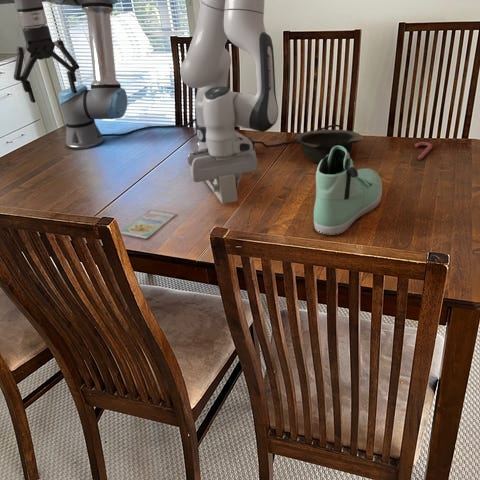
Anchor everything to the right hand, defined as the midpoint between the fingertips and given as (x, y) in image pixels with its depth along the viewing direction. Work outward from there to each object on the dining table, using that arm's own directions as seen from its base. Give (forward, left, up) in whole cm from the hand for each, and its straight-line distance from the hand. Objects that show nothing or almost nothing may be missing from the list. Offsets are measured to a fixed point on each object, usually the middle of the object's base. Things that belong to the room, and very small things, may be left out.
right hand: (225, 188), depth 146 cm
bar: (-3, -7, -4) cm, 9 cm away
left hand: (+28, -52, +25) cm, 65 cm away
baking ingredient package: (+25, -4, -4) cm, 26 cm away
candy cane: (-72, +20, -4) cm, 75 cm away
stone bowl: (-48, -3, -4) cm, 48 cm away
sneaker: (-22, +29, -4) cm, 37 cm away
